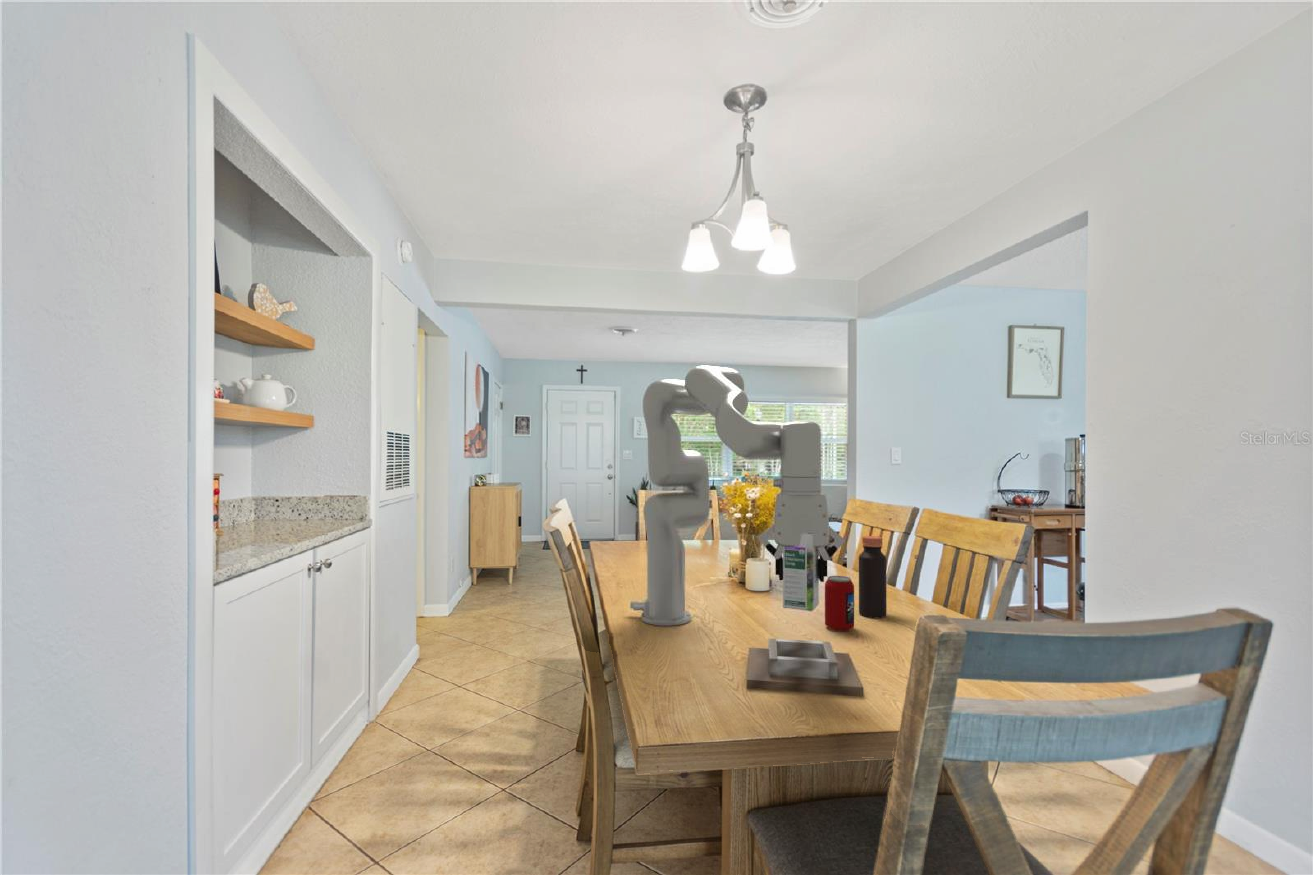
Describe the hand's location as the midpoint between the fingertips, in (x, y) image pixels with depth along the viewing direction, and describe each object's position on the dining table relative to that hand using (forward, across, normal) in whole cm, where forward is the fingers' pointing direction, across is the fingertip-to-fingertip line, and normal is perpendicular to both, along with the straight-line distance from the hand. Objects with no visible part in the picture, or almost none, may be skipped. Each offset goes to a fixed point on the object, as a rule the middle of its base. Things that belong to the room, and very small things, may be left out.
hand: (801, 578), depth 116 cm
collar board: (+18, 0, 0) cm, 18 cm away
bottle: (+18, +21, +46) cm, 54 cm away
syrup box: (+5, 0, 0) cm, 5 cm away
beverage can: (+18, +11, +32) cm, 38 cm away
